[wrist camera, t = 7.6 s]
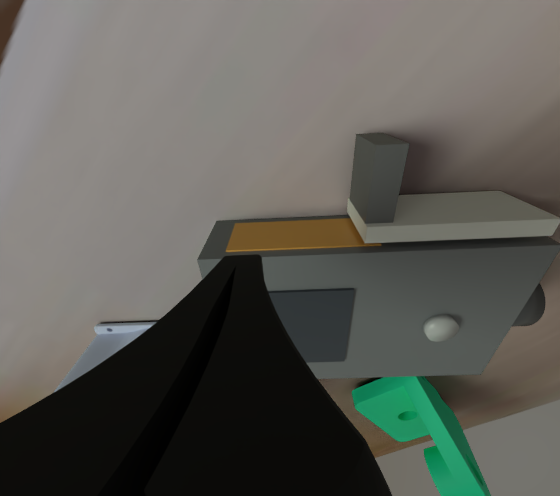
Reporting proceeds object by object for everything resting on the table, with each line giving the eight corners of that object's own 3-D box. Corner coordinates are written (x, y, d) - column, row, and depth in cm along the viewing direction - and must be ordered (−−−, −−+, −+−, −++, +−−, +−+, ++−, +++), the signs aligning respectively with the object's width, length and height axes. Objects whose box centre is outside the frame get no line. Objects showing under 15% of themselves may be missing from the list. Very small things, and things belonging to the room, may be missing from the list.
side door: (346, 211, 18) (364, 243, 14) (354, 133, 15) (379, 146, 11) (493, 204, 17) (552, 235, 14) (527, 124, 15) (612, 134, 11)
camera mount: (346, 382, 30) (373, 503, 21) (406, 356, 27) (466, 482, 18) (392, 420, 35) (430, 531, 26) (447, 402, 32) (510, 518, 23)
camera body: (238, 331, 25) (228, 388, 20) (216, 219, 18) (193, 264, 14) (466, 324, 24) (512, 381, 19) (525, 206, 18) (614, 247, 13)
